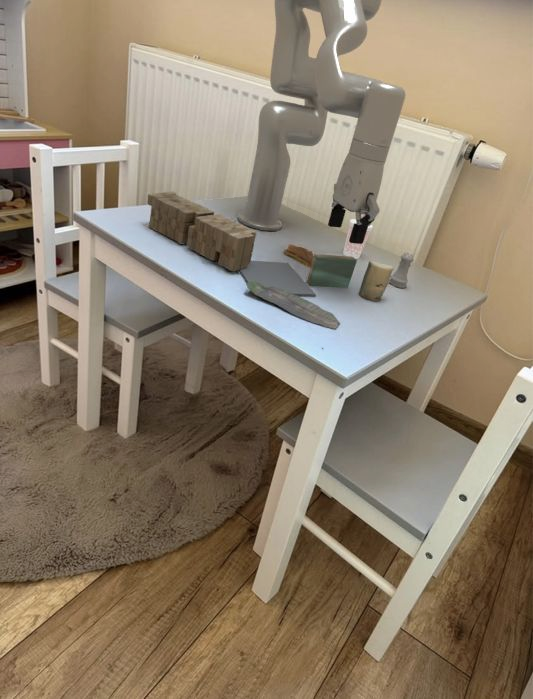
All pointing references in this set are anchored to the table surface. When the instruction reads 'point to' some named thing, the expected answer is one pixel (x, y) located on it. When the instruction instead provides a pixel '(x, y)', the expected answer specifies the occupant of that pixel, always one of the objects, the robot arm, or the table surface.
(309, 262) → the shard
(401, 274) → the rook chess piece
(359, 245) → the beverage cup
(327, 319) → the mossy stone slab
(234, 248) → the block tower
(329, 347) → the table surface
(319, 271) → the plaque
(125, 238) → the table surface
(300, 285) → the mat
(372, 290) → the beige rounded chunk
